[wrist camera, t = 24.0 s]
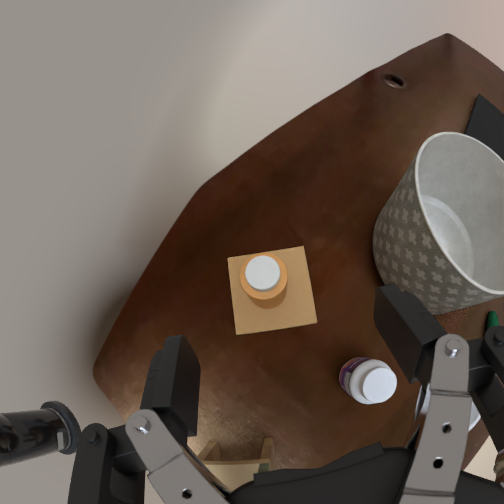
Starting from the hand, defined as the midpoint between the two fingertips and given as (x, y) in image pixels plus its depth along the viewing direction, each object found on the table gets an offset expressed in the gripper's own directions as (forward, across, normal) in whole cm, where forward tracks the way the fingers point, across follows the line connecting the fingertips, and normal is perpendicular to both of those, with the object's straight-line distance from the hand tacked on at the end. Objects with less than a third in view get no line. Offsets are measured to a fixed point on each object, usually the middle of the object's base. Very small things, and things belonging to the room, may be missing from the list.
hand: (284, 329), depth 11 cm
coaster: (+24, 0, +14) cm, 27 cm away
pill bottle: (+13, -9, +25) cm, 29 cm away
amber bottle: (+23, 0, +14) cm, 27 cm away
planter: (+23, -24, +15) cm, 36 cm away
